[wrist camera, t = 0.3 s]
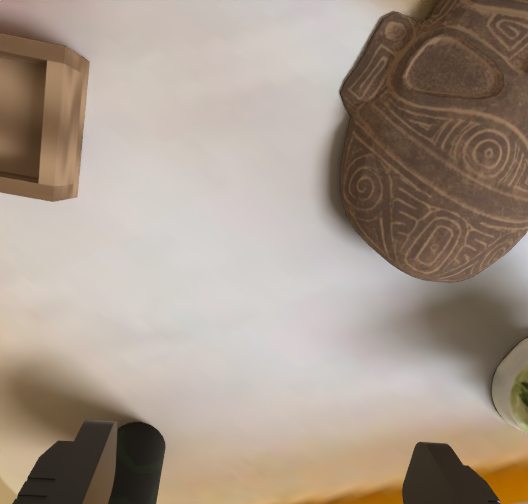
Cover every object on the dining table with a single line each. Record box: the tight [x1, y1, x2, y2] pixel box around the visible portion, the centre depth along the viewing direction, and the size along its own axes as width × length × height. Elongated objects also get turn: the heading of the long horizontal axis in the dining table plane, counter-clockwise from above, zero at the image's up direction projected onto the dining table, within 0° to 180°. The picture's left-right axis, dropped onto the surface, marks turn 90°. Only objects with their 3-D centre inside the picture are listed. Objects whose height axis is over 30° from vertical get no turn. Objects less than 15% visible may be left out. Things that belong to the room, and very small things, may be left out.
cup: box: [108, 422, 165, 504], centre depth 36 cm, size 8×8×12 cm
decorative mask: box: [340, 0, 528, 283], centre depth 33 cm, size 23×7×30 cm
